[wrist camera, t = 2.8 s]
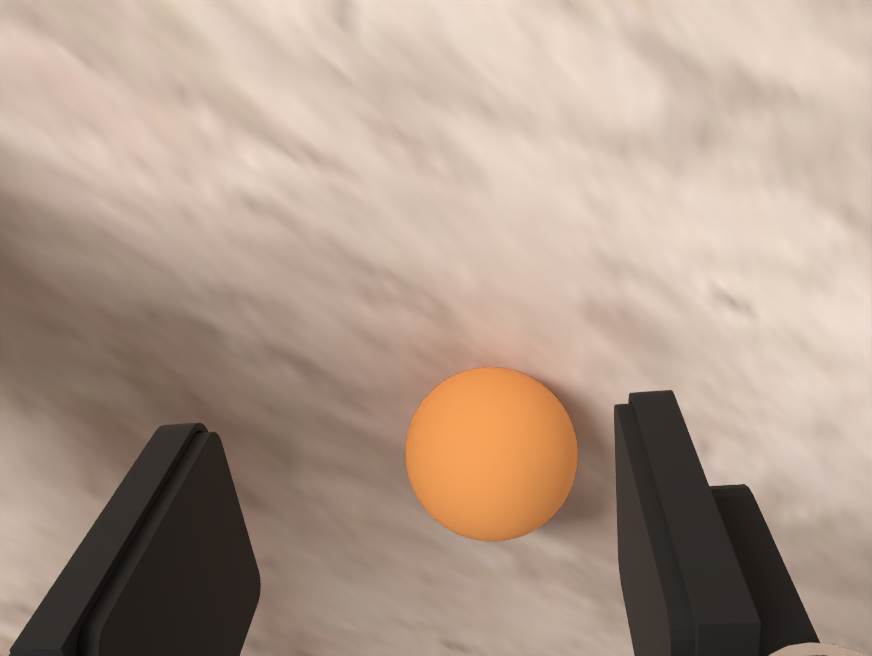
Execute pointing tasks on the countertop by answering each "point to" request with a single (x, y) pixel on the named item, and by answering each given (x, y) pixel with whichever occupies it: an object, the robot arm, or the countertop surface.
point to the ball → (491, 454)
